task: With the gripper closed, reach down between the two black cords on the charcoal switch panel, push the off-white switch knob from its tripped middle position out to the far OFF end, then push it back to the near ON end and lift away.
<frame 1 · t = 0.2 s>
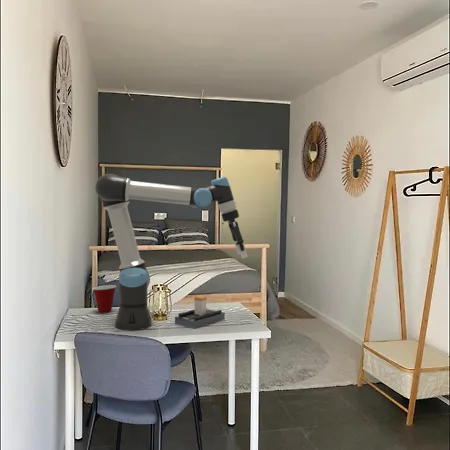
hand: (242, 255, 224), 28 cm above the table, tool tilted 20°, fingers open, 13 cm apart
plastic cup: (104, 312, 232), on the table
switch panel: (200, 321, 215), on the table
switch knob: (200, 305, 215), point 7 cm above the table, slide at 0.0 cm
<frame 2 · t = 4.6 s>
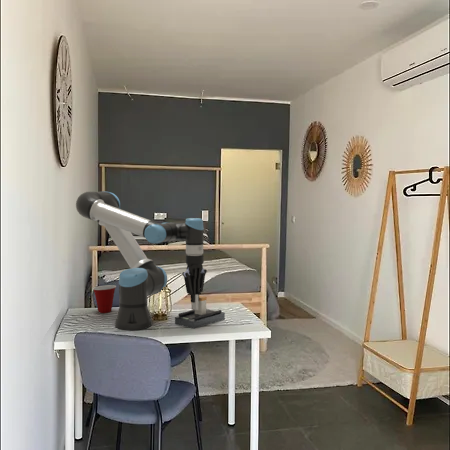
hand: (194, 309, 212), 6 cm above the table, tool pointing down, fingers closed
switch knob: (200, 305, 215), point 7 cm above the table, slide at 0.1 cm, touching gripper
everything else where it was.
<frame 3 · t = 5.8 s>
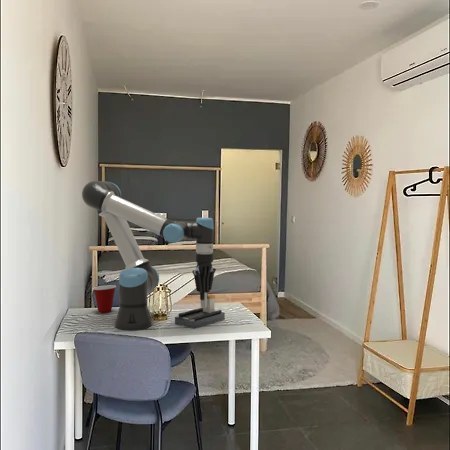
hand: (203, 307, 216), 6 cm above the table, tool pointing down, fingers closed
switch knob: (208, 303, 219), point 7 cm above the table, slide at 5.5 cm, touching gripper
everything else where it was.
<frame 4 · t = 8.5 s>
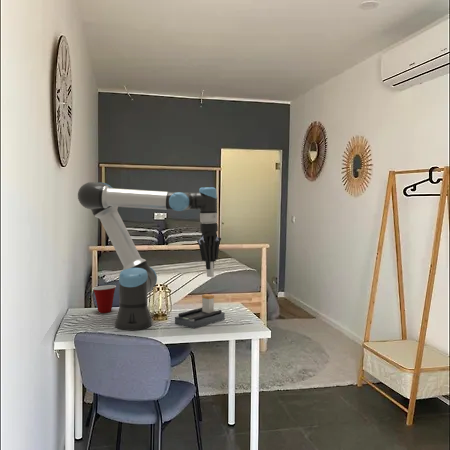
hand: (210, 276, 217), 19 cm above the table, tool pointing down, fingers closed
switch knob: (208, 303, 219), point 7 cm above the table, slide at 5.0 cm
everything else where it was.
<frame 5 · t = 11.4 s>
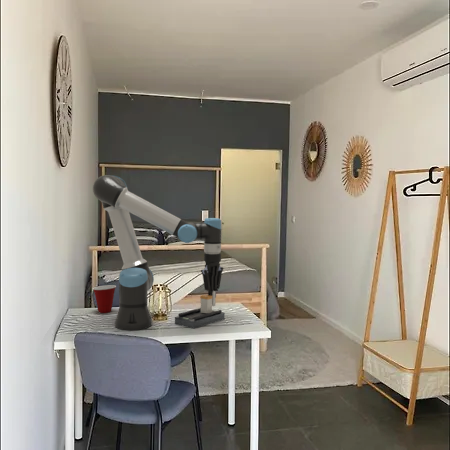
hand: (212, 305, 221), 6 cm above the table, tool pointing down, fingers closed
switch knob: (206, 303, 218), point 7 cm above the table, slide at 3.9 cm, touching gripper
everything else where it was.
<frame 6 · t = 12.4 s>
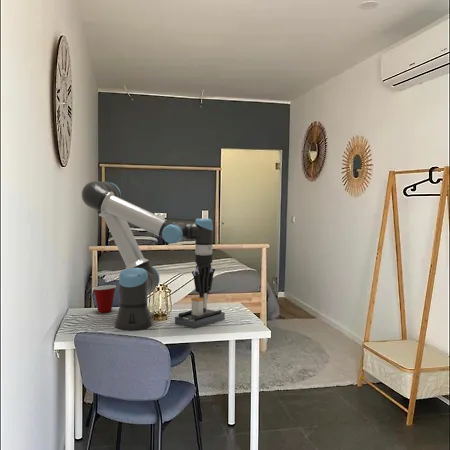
hand: (203, 307, 217), 6 cm above the table, tool pointing down, fingers closed
switch knob: (197, 306, 213), point 7 cm above the table, slide at -1.9 cm, touching gripper
everything else where it was.
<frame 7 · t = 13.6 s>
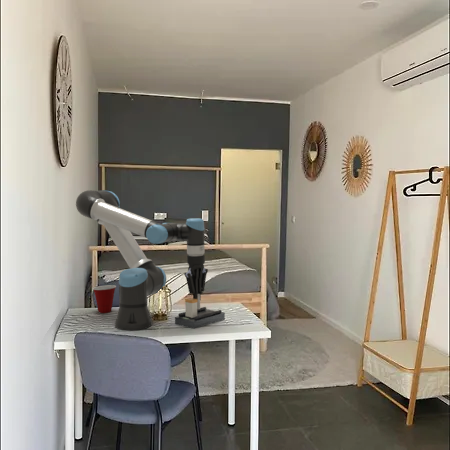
hand: (197, 308, 214), 6 cm above the table, tool pointing down, fingers closed
switch knob: (191, 307, 210), point 7 cm above the table, slide at -5.7 cm, touching gripper
everything else where it was.
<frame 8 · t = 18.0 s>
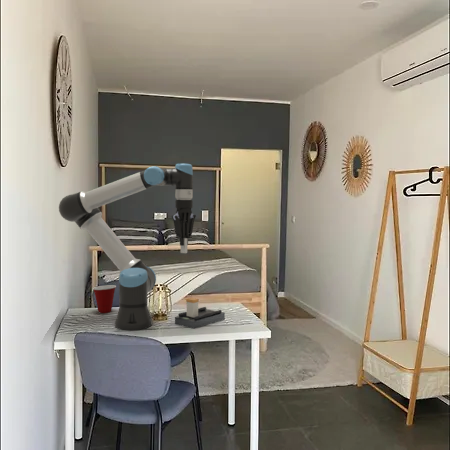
hand: (183, 252, 218), 29 cm above the table, tool pointing down, fingers closed
switch knob: (192, 307, 211), point 7 cm above the table, slide at -5.0 cm
everything else where it was.
at the end: switch knob slide at -5.0 cm; the gripper is holding nothing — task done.
